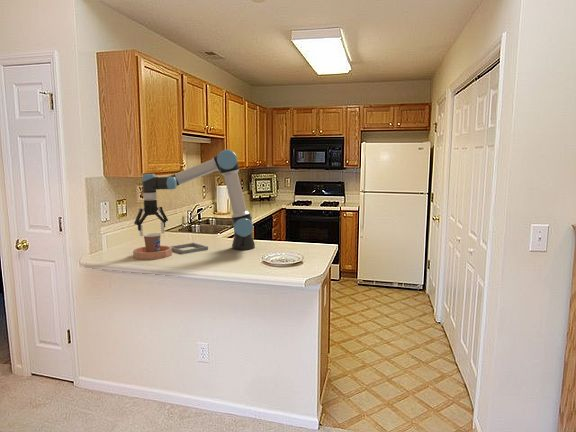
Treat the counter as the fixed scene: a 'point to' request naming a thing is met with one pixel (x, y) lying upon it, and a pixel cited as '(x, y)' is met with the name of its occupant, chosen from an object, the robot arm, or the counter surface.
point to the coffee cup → (152, 242)
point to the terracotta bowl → (152, 253)
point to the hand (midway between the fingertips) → (152, 234)
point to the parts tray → (200, 248)
